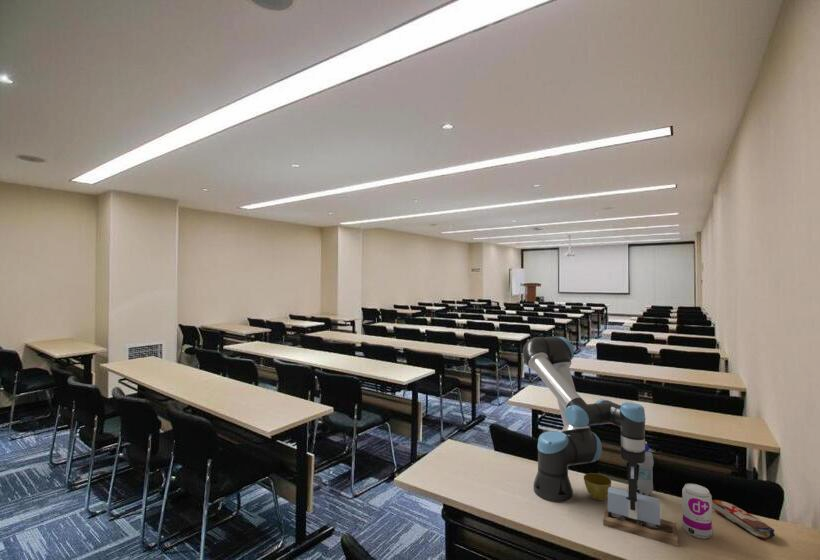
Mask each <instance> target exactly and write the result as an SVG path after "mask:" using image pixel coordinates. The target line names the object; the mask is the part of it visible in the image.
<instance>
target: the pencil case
mask: <svg viewBox="0 0 820 560" xmlns="http://www.w3.org/2000/svg"><path fill="white" fill-rule="evenodd" d="M712 510H714V511H715V512H717V513H718V514H720V515H722V516H723V517H725V518H726V519H728V520H729V521H731V522H733V523H735V524H736V525H738V526H739V527H741V528H743V529H744V530H746V531H747V532H749V533H750V534H752V535H754V536H755V537H758V538H761V539H763V540H768V539H771V538H773V537H775V536H776V534H775V529H774V528H772V527H771V526H770V525H768V524H767V523H766V522H764V521H762V520H760V519H759V518H757V517H755V516H754V515H752V514H751V513H748V512H747V511H746V510H743V509H742V508H740V507H738V506H736V505H734V504H733V503H730V502H728V501H725V500H719V499H712Z"/></svg>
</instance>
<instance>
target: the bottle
mask: <svg viewBox="0 0 820 560" xmlns="http://www.w3.org/2000/svg"><path fill="white" fill-rule="evenodd" d="M644 451H645V462H644V463H637V464H639V476H638V481H637V486H638V488H637V490H640V493H639V494H641V495H646V496H650V497H652V495H653V491H654V484H653V483H654V482H653V479H654V478H653V467H654V455H653V452H652V451H650V447H649V445H648V444H645V450H644Z"/></svg>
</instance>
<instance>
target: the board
mask: <svg viewBox="0 0 820 560" xmlns="http://www.w3.org/2000/svg"><path fill="white" fill-rule="evenodd" d="M604 509H605V510H604V514H603V519H602V521H603V523H602V524H603V526H606V527H609V528H612V529H616V530H620V531H623V532H625V533H630V534H633V535H635V536H636V535H637V536H640V537H643V538H648V539H650V540H654V541H658V542H661V543H664V544H668V545H671V546H675V547H679V536H678V529H677V528H678V527H677V523H676V522H674V521H673V522H672V521H671V520H665V519H664V518H660V525H657V527H656V528H658V529H659V530H655V529H654V528H649V527H647V526H642V525H643V524H644V525H645V521H641V520H638V519H637V520H636V519H633V518H629V517H626V516H623V515H622V519H624V520H622V519H616V518H614V517H613V518H612V517H610V515H611V516H612V512H608V504H606V505H605V508H604Z"/></svg>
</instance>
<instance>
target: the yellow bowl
mask: <svg viewBox="0 0 820 560" xmlns="http://www.w3.org/2000/svg"><path fill="white" fill-rule="evenodd" d="M583 480H584V485H585V487H586V490H587V492H588V494H589V495H590V497H591V498H592V499H594V500H598V501H603V500H605V499H606V498H607V497H608V488H609V487H612V480H611V478H610V477H608V476H606V475H603V474H600V473H598V472H597V473H596V472H595V473H594V472H590V473H589V472H588V473H585V474H584V475H583Z"/></svg>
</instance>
